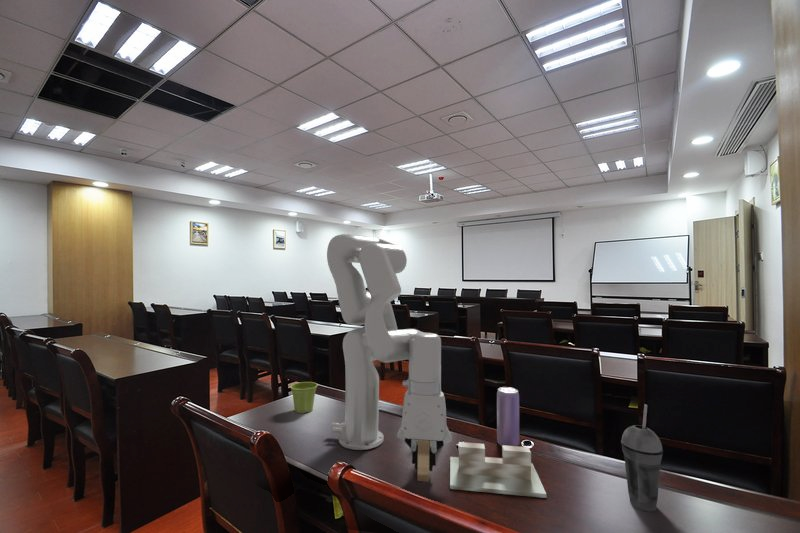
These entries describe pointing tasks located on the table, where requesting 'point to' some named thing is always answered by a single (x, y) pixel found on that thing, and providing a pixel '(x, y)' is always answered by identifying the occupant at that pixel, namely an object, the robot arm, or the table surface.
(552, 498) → the table surface
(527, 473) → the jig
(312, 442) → the table surface
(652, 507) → the beverage cup
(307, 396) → the plant pot
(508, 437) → the beverage can
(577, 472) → the table surface
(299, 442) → the table surface
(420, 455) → the wooden block
